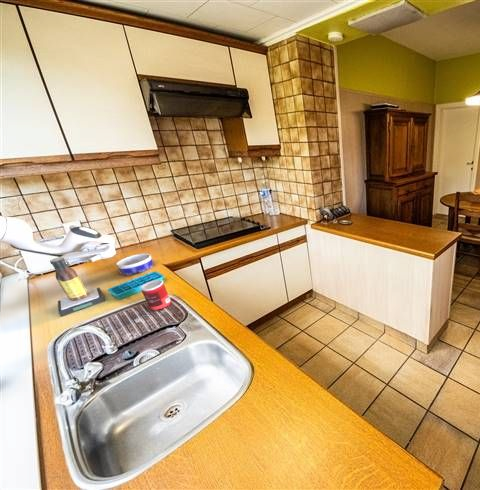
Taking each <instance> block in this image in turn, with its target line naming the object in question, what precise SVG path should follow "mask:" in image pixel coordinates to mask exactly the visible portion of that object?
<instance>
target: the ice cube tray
mask: <svg viewBox="0 0 480 490" xmlns="http://www.w3.org/2000/svg"><path fill="white" fill-rule="evenodd" d="M164 278H165V275H164V274H162V273H160V272H158V271H157V270H156V271H151V272H149V273H146V274H143V275H140V276H138V277H135V278H133V279H129V280H127V281H125V282H122V283H120V284H117V285H115V286H112V287H110V288H107V291H108V292H109V294H111V295H113V296H114V297H115V298H116V299H118V300H124V299H126V298H128V297H131V296H133V295H135V294H138V293H140V292H141V293H142V291H141V286H143V285H144V284H146V283H148V282H150V281H154V280H162V282H163V283H164Z"/></svg>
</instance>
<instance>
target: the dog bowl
mask: <svg viewBox="0 0 480 490" xmlns="http://www.w3.org/2000/svg"><path fill="white" fill-rule="evenodd" d="M154 265H155V263H154V261H153V258H152V256H151V254H150V253H139V254H134V255H130V256H128V257H124V258H122V259H120V260H118V261H117V262H116V263H115V266H116V268H117V269H118V272H119V273H120V275H122V276H134V275H137V274H140V273H144V272H146V271H148V270H150V269H152V268H153V267H154Z"/></svg>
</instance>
